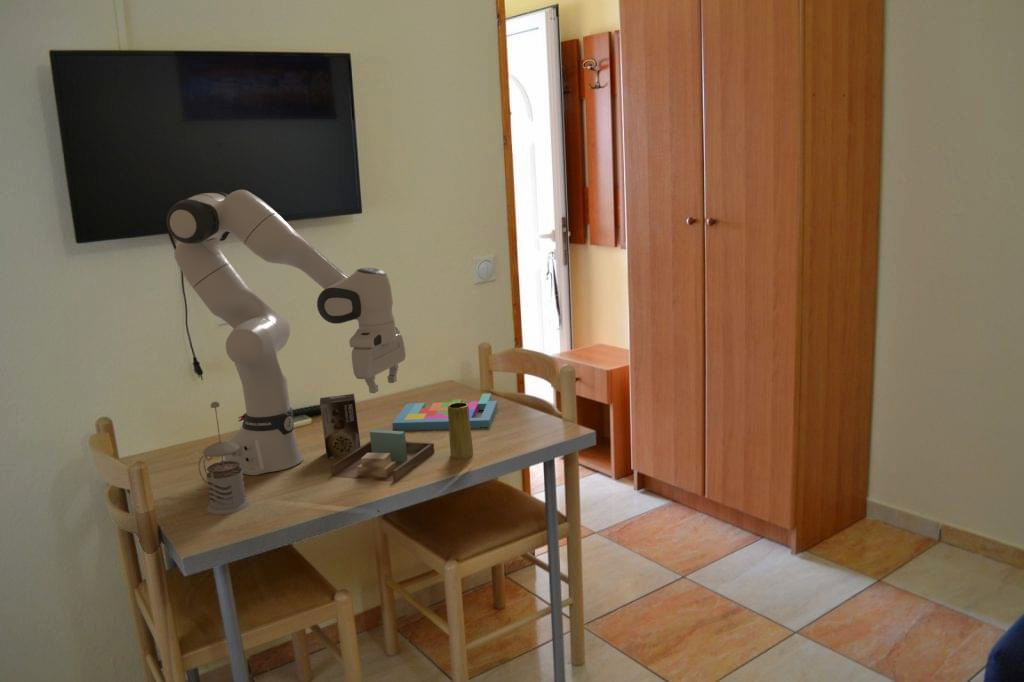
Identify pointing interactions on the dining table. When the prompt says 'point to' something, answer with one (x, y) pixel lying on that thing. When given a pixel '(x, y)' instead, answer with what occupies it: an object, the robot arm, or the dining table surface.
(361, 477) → the brown wooden tray
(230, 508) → the french press
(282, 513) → the dining table surface
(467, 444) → the vase
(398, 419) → the tetris game
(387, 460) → the offcut top
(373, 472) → the offcut low
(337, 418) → the coffee box
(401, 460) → the teal rectangular block
